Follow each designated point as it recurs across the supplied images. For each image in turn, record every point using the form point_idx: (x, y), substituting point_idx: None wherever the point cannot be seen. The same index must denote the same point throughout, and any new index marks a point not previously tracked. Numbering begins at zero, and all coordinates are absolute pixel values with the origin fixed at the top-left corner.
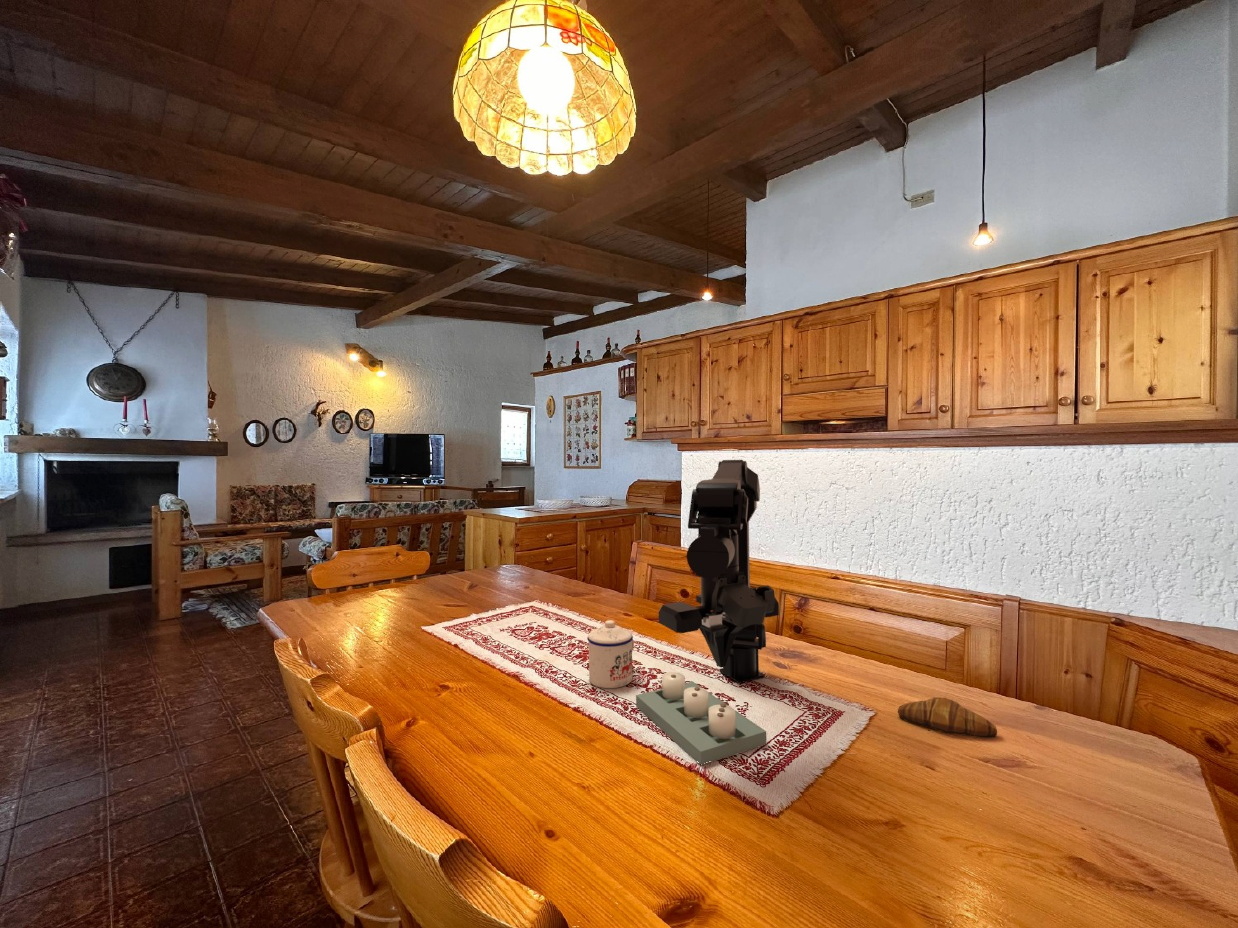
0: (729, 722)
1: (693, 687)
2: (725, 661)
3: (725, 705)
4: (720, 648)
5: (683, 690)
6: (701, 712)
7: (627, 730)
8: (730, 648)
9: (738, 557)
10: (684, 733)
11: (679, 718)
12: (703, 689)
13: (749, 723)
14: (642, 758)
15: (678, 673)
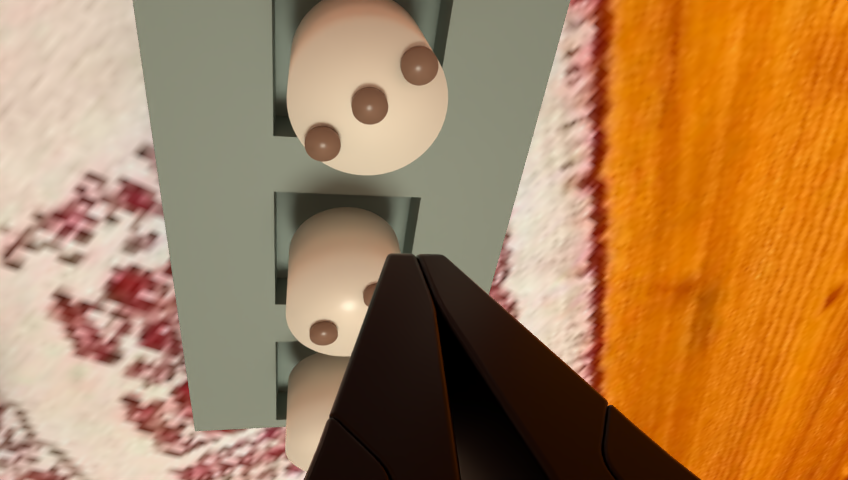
0: (378, 12)
1: (326, 350)
2: (402, 278)
3: (315, 132)
4: (564, 400)
5: (315, 376)
6: (358, 220)
7: (570, 289)
8: (358, 383)
9: None
10: (513, 141)
11: (442, 242)
12: (294, 320)
13: (168, 44)
14: (664, 135)
15: (298, 458)
